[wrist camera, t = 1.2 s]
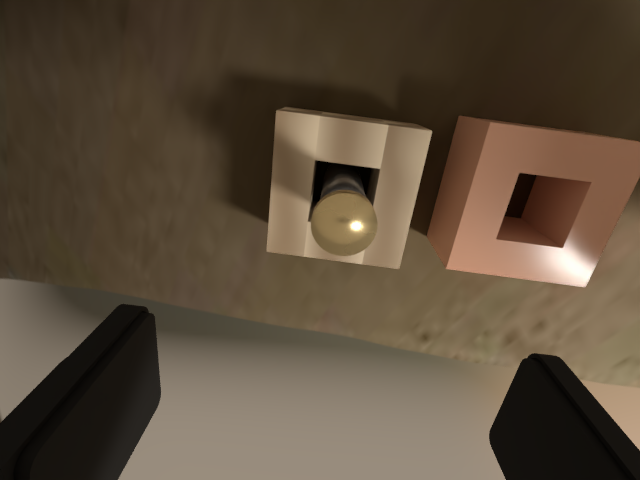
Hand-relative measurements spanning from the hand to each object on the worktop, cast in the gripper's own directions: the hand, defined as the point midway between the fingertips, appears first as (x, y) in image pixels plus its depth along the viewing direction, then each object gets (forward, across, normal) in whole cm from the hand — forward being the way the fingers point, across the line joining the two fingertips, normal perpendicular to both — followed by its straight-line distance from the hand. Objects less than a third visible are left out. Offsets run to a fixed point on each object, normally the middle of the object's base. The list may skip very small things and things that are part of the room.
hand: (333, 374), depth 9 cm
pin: (+22, -1, 0) cm, 22 cm away
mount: (+22, -1, 0) cm, 22 cm away
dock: (+21, -14, -1) cm, 25 cm away
